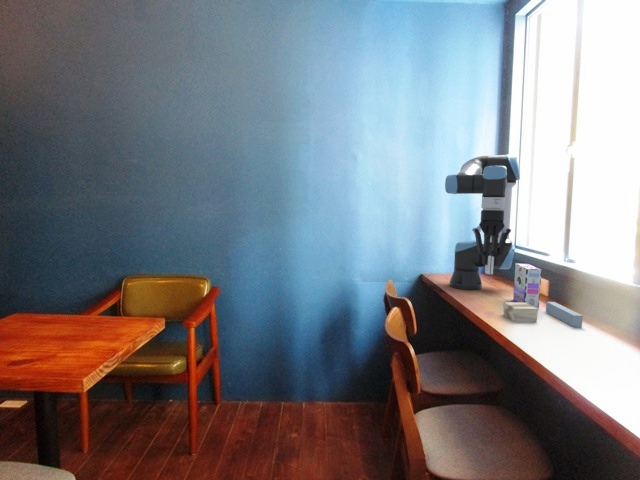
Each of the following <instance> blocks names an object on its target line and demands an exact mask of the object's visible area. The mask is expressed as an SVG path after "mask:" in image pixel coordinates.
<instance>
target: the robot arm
mask: <svg viewBox="0 0 640 480" xmlns="http://www.w3.org/2000/svg"><path fill="white" fill-rule="evenodd" d="M519 164H520V163H519V157H518V156H517V155H516V154H498V155H497V154H496V155H480V156H477V157H474V158H471V159H469V160H466V162H464V163H463V164H462V166H461V167H460V171H459V172H458V173H457V174H448V175H447V176H446V177H445V182H444V189H445V193H447V194H449V195H450V194H453V195H457V194H458V195H459V194H460V195H461V194H465V195H466V194H469V195H470V194H473V195H474V194H479V195H481V194H482V195H481V205H480V206H481V209H482V210H480V223H479V224H478V226H476V227H472V232H473V234H474V237H475V240H464V241H459V242H457V243H456V244H455V248H454V262H453V263H454V265H453V268H454V269H453V273H452V274H451V278H450V280H449V286H450V287H452V288H454V289H460V290H466V291H477V290H482V288H483V283H482V279H481V276H480V275H481V274H480V268H481V269H482V268H484V273H485V274H486V275H494V270H495V269H496V270H497V269H498V270H509V269H511V267H512V263H513V259H514V255H515V250H516V246H515V245H513V241H512V240H511V239H510V233H511V231H512V229H511V228H510V226H511V225H510V224H511V211H512V209H511V208H512V197H513V195H512V194H513V187H515V185H517V181H519V180H520V179H521V178H520V176H521V175H520V165H519ZM481 232H482V233H483V242H482V236H481V235H482V234H481Z"/></svg>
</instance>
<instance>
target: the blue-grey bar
mask: <svg viewBox="0 0 640 480" xmlns="http://www.w3.org/2000/svg"><path fill="white" fill-rule="evenodd" d="M545 312H546V313H547V314H549V315H551V316H553V317H555V318H556V319H558V320H560V321H562V322H564V323H566V324H567V325H569V326H571V327H573V328H574V327H576V328H582V327H583V317H584V315H583V314H581V313H579V312H576V311H575V310H572V309H569V308H568V307H566V306H564V305H562V304H560V303H558V302H555V301H546V306H545Z"/></svg>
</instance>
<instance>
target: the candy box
mask: <svg viewBox="0 0 640 480" xmlns="http://www.w3.org/2000/svg"><path fill="white" fill-rule="evenodd" d="M513 282H514V283H513V296H512V297H513V298H512V299H513V302H521V303H528V304H529V305H531V306H533V307H535V308H537V309H538V310H539V309H540V306H539V305H540V295H541V285H542V284H541V283H542V268H539V267H537V266H534V265H532V264H530V263H515V264H514V281H513Z"/></svg>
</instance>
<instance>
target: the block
mask: <svg viewBox="0 0 640 480" xmlns="http://www.w3.org/2000/svg"><path fill="white" fill-rule="evenodd" d="M503 305H504V306H503V315H504V316H505V317H507V318H508V319H509V320H511V321H512V322H528V323H529V322H531V323H532V322H533V323H534V322H535V323H537V321H538V312H539V311H538V310H539V309H537V308H535V307H533V306H531V305H529V304H528V303H521V302H516V301H513V302H512V301H511V302H510V301H509V302H506V301H505V302H503Z"/></svg>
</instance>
